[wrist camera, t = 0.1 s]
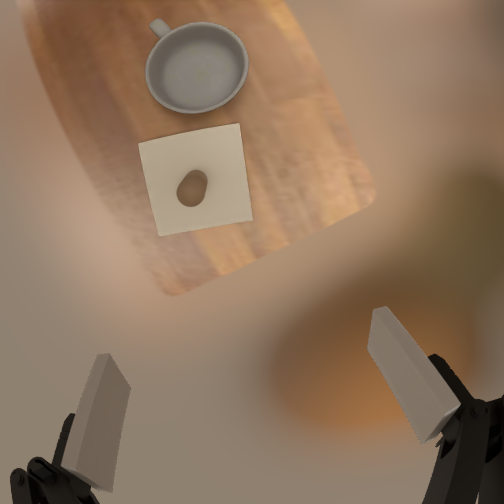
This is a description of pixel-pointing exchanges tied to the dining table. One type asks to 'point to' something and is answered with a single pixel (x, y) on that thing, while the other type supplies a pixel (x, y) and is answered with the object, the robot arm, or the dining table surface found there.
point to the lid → (197, 179)
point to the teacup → (195, 66)
